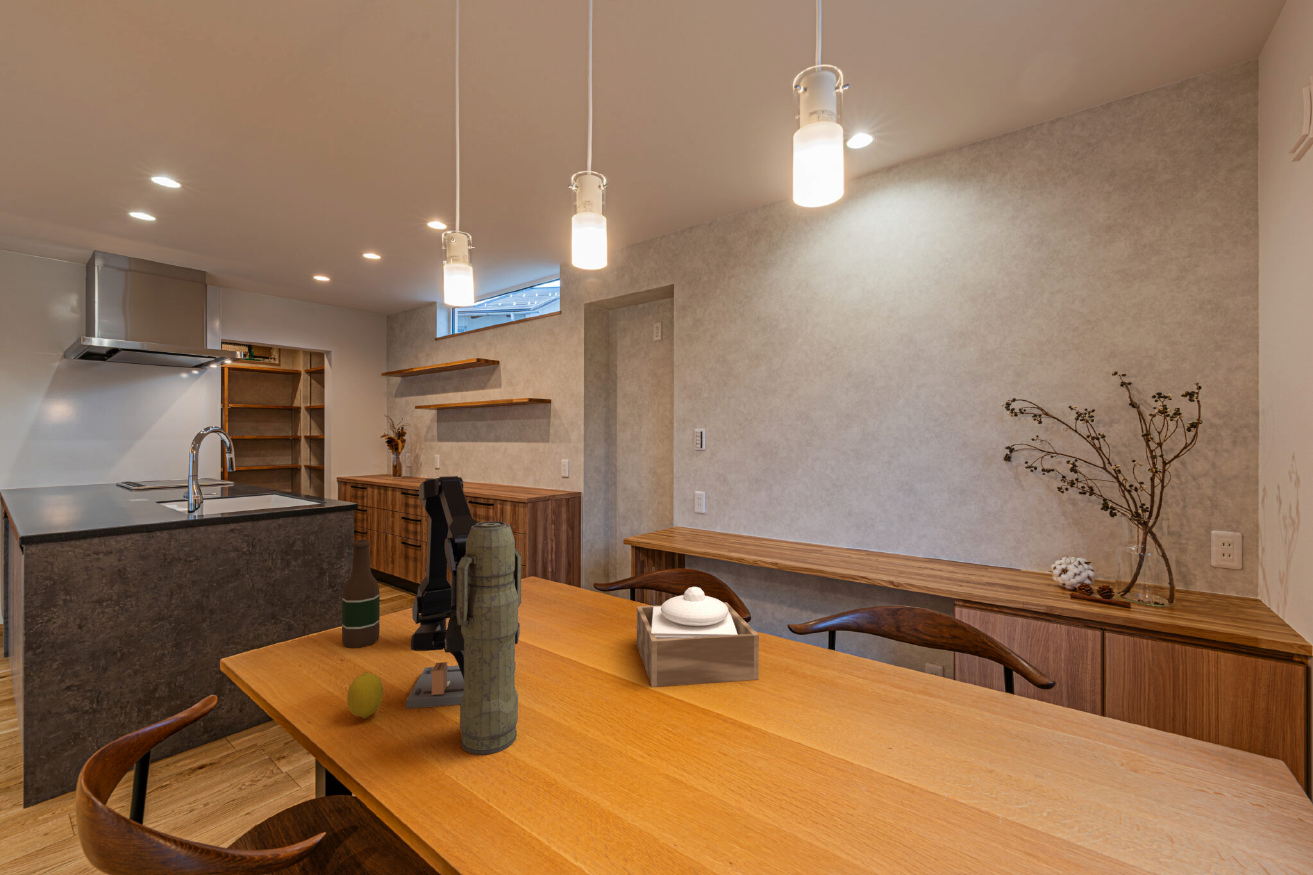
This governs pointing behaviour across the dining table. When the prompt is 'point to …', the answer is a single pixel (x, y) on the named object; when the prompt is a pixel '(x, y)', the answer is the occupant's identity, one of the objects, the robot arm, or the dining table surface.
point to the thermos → (489, 637)
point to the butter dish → (692, 617)
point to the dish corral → (697, 654)
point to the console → (451, 696)
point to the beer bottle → (360, 601)
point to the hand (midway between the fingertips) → (467, 680)
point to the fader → (439, 678)
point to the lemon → (365, 695)
